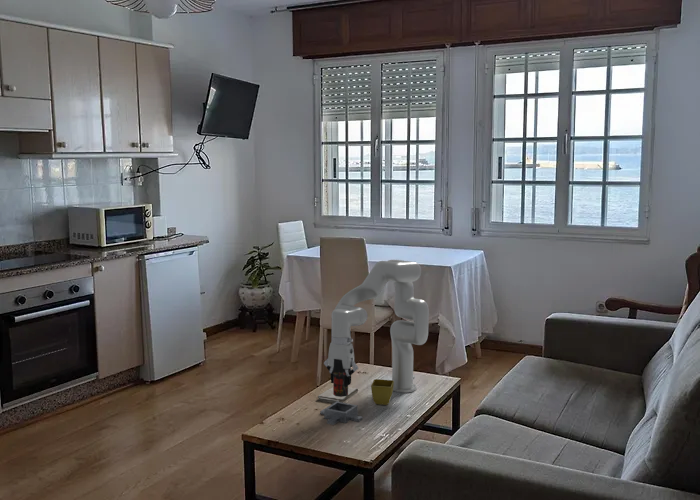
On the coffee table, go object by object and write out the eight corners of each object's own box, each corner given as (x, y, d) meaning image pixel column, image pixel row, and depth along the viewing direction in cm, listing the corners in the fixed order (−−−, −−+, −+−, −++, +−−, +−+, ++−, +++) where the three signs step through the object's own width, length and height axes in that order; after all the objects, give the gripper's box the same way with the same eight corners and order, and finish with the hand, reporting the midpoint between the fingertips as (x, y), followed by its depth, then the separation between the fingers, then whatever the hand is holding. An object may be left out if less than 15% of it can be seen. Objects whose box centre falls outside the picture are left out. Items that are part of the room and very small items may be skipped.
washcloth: (316, 402, 288) (316, 395, 288) (334, 389, 304) (334, 382, 304) (340, 406, 283) (340, 399, 283) (358, 393, 299) (358, 386, 299)
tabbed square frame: (333, 405, 282) (333, 396, 282) (370, 413, 274) (370, 404, 273) (310, 420, 267) (310, 410, 266) (350, 428, 258) (350, 418, 257)
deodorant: (331, 392, 270) (331, 356, 269) (345, 391, 272) (345, 355, 270) (335, 397, 265) (335, 360, 263) (349, 395, 267) (350, 359, 265)
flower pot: (391, 407, 280) (391, 386, 279) (370, 406, 282) (370, 385, 281) (393, 400, 289) (394, 380, 288) (374, 398, 291) (374, 379, 289)
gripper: (364, 340, 265) (364, 384, 267) (327, 335, 273) (327, 377, 275) (355, 345, 259) (355, 389, 261) (317, 339, 267) (317, 382, 269)
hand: (340, 383), depth 268 cm, fingers closed on deodorant, 5 cm apart
